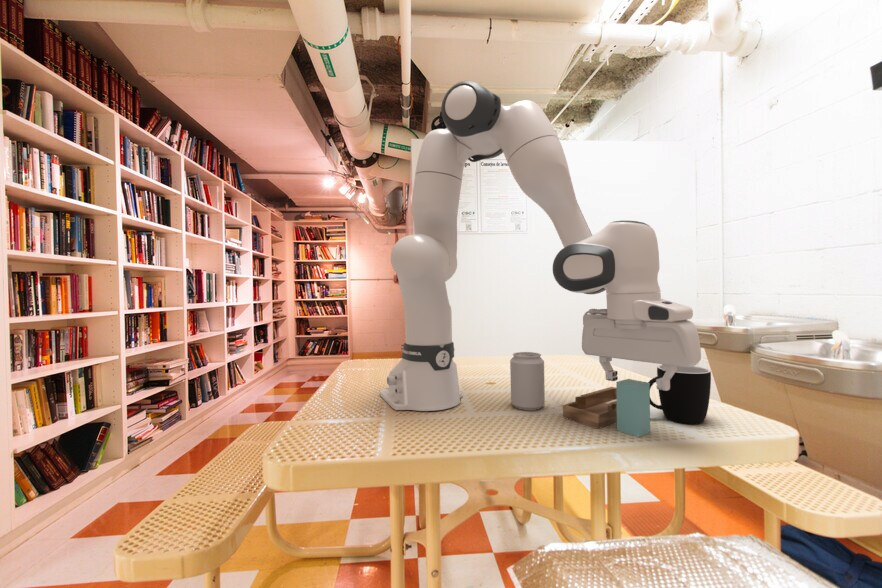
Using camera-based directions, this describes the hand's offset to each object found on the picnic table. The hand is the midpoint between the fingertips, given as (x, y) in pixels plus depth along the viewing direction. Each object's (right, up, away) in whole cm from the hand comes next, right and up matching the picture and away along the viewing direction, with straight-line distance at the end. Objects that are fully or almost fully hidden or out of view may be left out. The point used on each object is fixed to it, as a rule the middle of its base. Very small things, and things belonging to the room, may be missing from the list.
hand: (636, 384), depth 68 cm
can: (-16, -9, +16) cm, 24 cm away
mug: (+11, -9, +6) cm, 15 cm away
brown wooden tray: (-1, -9, +10) cm, 13 cm away
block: (0, -9, 0) cm, 9 cm away
